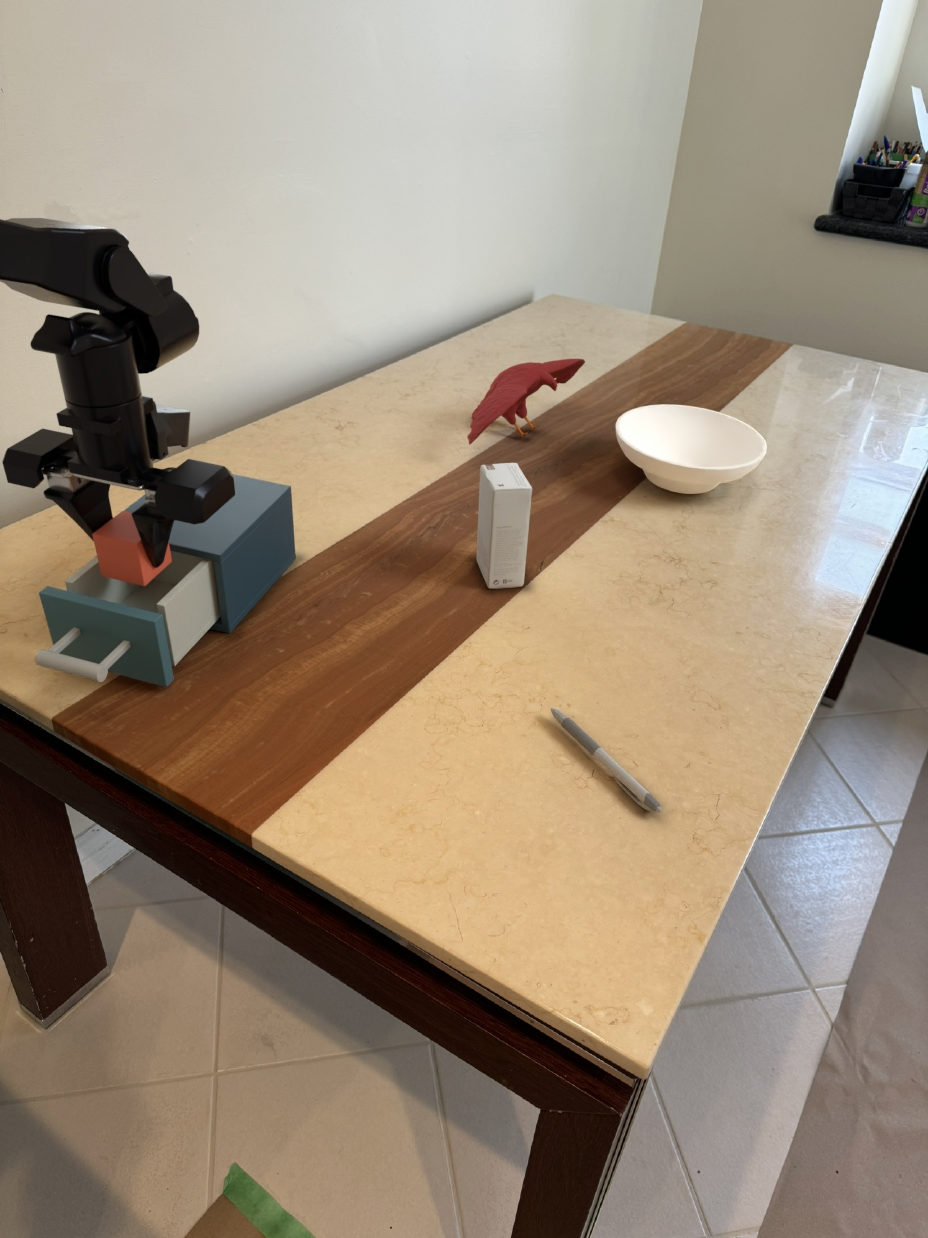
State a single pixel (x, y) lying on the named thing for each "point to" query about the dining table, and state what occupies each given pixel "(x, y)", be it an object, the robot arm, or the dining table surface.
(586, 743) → the pen
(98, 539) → the terracotta rounded cube
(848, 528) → the dining table surface
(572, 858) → the dining table surface
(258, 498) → the cabinet
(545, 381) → the decorative bird sculpture
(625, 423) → the bowl
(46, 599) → the open handled drawer
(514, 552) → the cosmetic box
